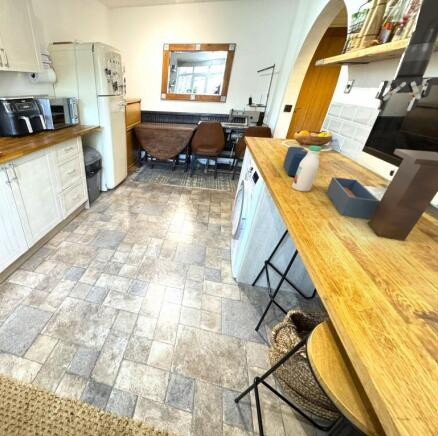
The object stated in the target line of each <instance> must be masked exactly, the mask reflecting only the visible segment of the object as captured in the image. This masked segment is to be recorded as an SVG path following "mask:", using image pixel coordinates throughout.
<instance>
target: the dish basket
mask: <svg viewBox="0 0 438 436" xmlns="http://www.w3.org/2000/svg"><path fill="white" fill-rule="evenodd" d="M343 187H344V188H348V189H349V190H350V191H351V192H352V193H353V194H354V195H355V197H356V198H355V197H351V196H350V195H349V194H348V193H347V192H346V190H345V189H344V188H343ZM325 193H326V195H327V196H328V198H329V200H330V201H331V202H332V204H333V205H334V207H335V208H336V209H337V211H338V212H339V214H340V215H341V216H345V217H352V218H356V219H357V218H359V219H365V220H370V218H371V216H372V215H373V213H374V211H375V209H376V208H377V206H378V204H379V202H380V200H379V198H377V197H376V196H375V195H374V194H373V193H372V192H371V191H370V190H369V189H368V188H366V186H364V185H363V183H361V182H360V181H359V180H358V179H353V178H347V177H336V176H332V177H331V179H330V182H329V184H328V186H327V189H326V192H325Z"/></svg>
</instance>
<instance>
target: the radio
mask: <svg viewBox="0 0 438 436" xmlns="http://www.w3.org/2000/svg"><path fill="white" fill-rule="evenodd" d="M307 138H308V137H305V140H304V142H303V146H289V147H288V148H287V150H286V154H285V157H284V160H283V163H282V166H283V168H284V170H285V172H286V175H287V176H288V177H292V178H293V177H294V178H295V176H296V173H297V170H298V167H299V165H300V162H301V161H302V160H303V159H304V157H305V156H306V155H307V154H308V150H306V149H305V148H304V146H305V143H306V141H307Z"/></svg>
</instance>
